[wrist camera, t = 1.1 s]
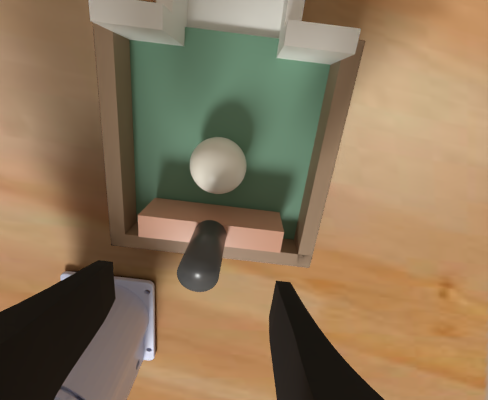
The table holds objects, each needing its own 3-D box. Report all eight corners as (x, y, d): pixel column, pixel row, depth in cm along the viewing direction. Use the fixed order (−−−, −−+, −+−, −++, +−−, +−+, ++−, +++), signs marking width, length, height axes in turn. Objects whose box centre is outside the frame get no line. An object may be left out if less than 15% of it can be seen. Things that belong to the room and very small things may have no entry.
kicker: (275, 233, 19) (287, 301, 13) (155, 219, 19) (105, 281, 13) (279, 209, 19) (294, 268, 12) (154, 194, 19) (102, 246, 12)
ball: (244, 186, 19) (242, 205, 15) (194, 181, 18) (182, 198, 15) (250, 136, 17) (249, 145, 14) (197, 130, 17) (184, 138, 14)
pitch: (301, 245, 21) (315, 287, 17) (129, 225, 21) (95, 261, 16) (367, -49, 14) (423, -118, 10) (114, -82, 14) (47, -168, 10)
